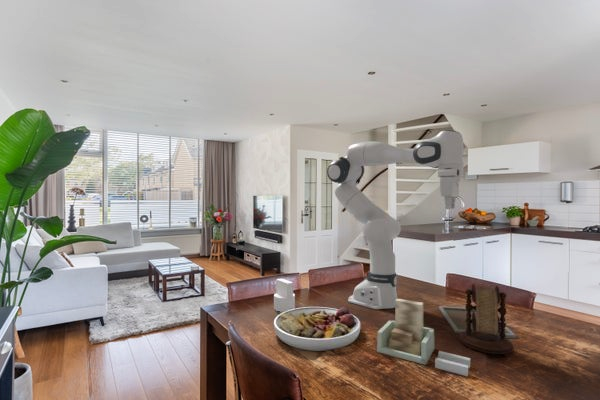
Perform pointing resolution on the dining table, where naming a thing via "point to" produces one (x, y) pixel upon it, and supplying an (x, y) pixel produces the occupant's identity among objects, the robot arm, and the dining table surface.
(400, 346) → the offcut long
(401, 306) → the beige streaked board
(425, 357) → the box
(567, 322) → the dining table surface
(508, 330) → the framed board
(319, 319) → the bowl
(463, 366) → the holder
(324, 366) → the dining table surface
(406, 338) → the offcut short
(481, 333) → the scroll
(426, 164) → the robot arm
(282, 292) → the base with upright slab
